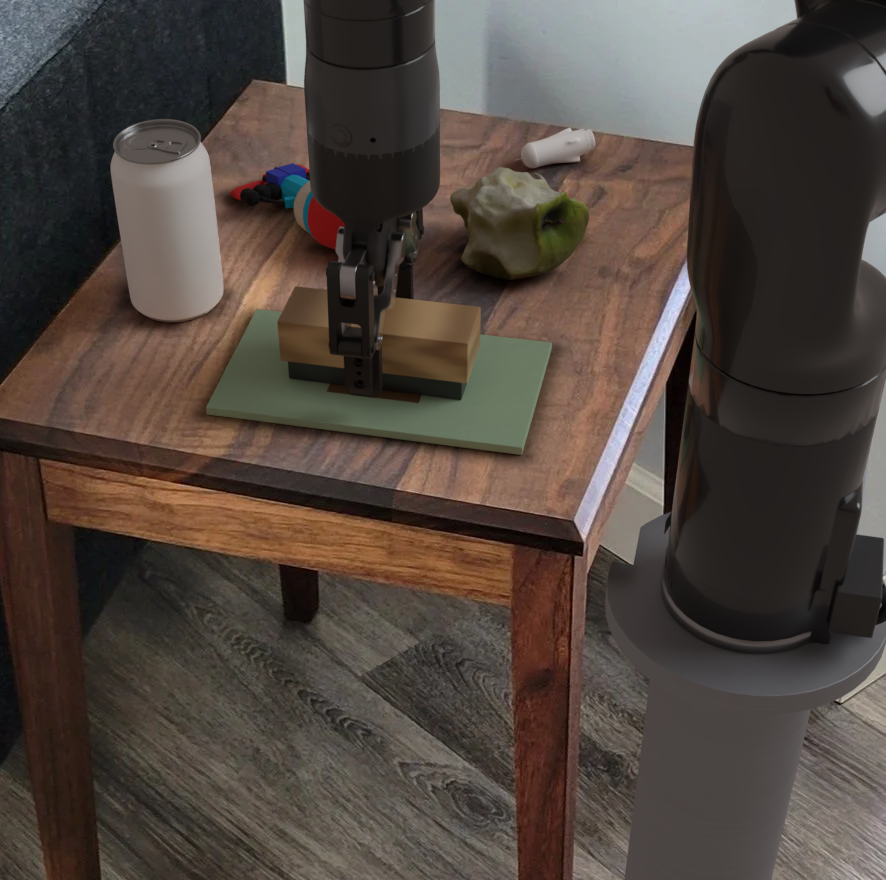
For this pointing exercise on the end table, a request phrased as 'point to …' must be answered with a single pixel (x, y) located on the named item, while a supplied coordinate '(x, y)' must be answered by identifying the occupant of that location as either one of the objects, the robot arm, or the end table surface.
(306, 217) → the toy figure
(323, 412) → the mat
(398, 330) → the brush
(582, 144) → the small white plastic part
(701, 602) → the robot arm
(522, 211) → the fruit
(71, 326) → the end table surface
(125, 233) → the can
